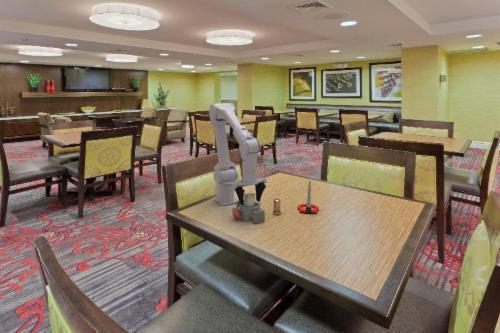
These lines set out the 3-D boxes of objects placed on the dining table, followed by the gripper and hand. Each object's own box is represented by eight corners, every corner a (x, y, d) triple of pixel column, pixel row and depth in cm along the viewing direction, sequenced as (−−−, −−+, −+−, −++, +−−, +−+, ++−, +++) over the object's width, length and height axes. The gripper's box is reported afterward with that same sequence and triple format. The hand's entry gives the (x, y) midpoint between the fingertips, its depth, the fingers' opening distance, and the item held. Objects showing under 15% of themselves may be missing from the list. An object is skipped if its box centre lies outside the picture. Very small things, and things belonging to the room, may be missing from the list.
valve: (226, 213, 134) (226, 202, 132) (249, 208, 139) (249, 197, 138) (243, 226, 121) (243, 214, 120) (268, 220, 126) (268, 208, 125)
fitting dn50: (242, 207, 131) (241, 193, 130) (253, 205, 133) (252, 192, 132) (246, 211, 127) (245, 197, 126) (257, 209, 129) (257, 195, 127)
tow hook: (297, 205, 143) (297, 213, 133) (298, 175, 140) (298, 180, 131) (318, 207, 142) (319, 214, 132) (319, 176, 139) (321, 181, 129)
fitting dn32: (271, 212, 134) (271, 199, 133) (277, 211, 136) (278, 197, 134) (275, 215, 131) (275, 201, 130) (282, 214, 133) (282, 200, 131)
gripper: (237, 174, 119) (238, 209, 122) (271, 169, 126) (270, 202, 129) (229, 170, 125) (230, 203, 128) (261, 165, 132) (261, 197, 135)
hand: (249, 202), depth 129 cm, fingers open, 7 cm apart
